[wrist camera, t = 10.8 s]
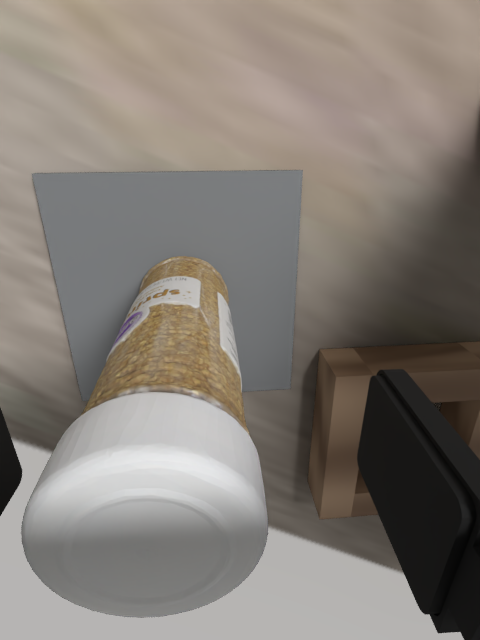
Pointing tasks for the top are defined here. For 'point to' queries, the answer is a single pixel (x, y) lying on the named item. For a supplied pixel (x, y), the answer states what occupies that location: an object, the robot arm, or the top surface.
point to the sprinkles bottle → (155, 463)
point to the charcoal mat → (175, 255)
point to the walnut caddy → (349, 406)
